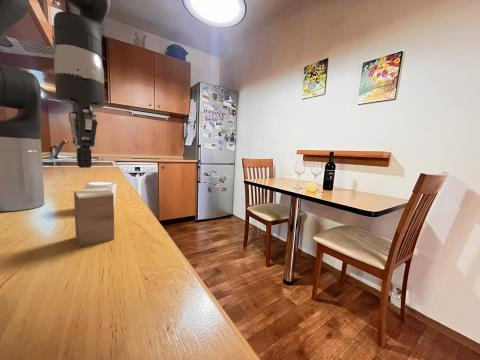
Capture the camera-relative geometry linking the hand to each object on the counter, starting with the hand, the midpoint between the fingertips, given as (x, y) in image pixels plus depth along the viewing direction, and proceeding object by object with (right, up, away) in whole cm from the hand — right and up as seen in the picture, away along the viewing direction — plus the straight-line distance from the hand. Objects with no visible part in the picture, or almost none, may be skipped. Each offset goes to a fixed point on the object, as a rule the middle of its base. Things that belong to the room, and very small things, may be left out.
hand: (84, 167), depth 41 cm
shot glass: (-5, -11, +13) cm, 18 cm away
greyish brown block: (+5, -14, -4) cm, 15 cm away
